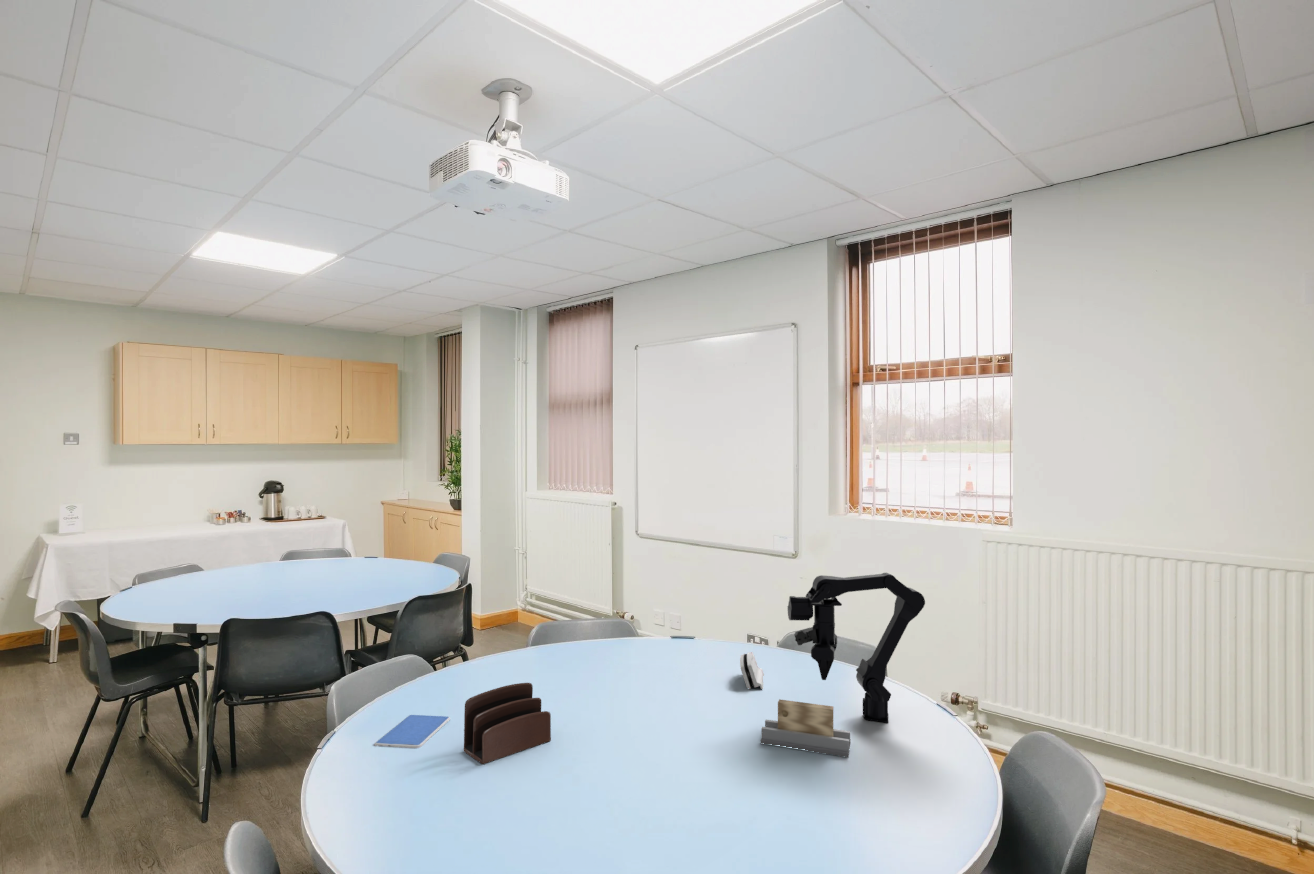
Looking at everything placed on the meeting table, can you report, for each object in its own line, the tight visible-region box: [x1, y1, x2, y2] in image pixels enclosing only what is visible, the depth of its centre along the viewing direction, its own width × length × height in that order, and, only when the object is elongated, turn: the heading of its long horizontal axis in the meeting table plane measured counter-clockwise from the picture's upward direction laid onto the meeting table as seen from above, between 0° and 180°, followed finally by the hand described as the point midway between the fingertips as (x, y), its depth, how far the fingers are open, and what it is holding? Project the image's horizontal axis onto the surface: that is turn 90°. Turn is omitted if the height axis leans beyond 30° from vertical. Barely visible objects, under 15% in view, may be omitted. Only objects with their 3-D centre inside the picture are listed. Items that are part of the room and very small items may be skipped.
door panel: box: [777, 698, 834, 737], centre depth 170 cm, size 14×3×9 cm, turn 70°
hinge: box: [739, 651, 765, 690], centre depth 219 cm, size 17×5×10 cm, turn 169°
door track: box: [760, 719, 852, 758], centre depth 170 cm, size 22×9×4 cm, turn 70°
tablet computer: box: [374, 714, 451, 749], centre depth 176 cm, size 19×13×1 cm, turn 174°
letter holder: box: [463, 682, 552, 765], centre depth 167 cm, size 10×20×14 cm, turn 134°
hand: (824, 674), depth 189 cm, fingers open, 9 cm apart
